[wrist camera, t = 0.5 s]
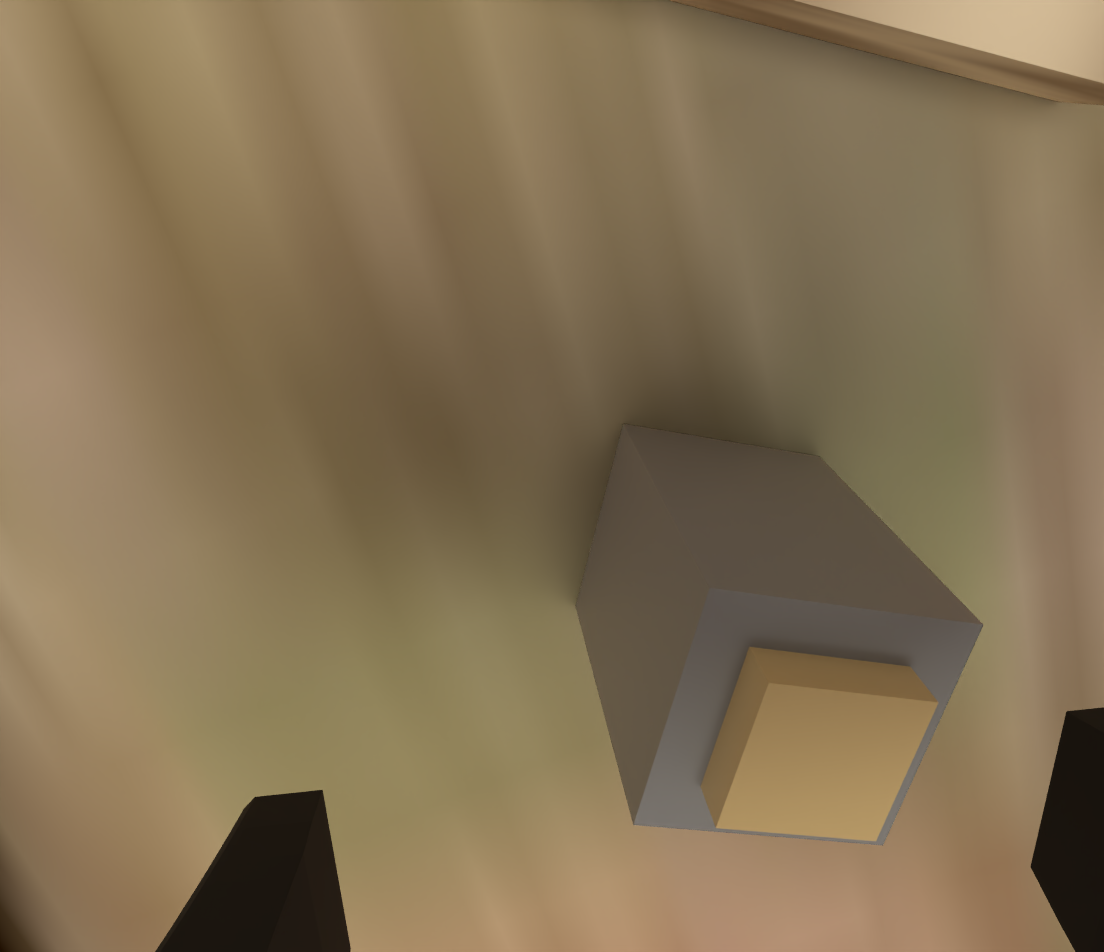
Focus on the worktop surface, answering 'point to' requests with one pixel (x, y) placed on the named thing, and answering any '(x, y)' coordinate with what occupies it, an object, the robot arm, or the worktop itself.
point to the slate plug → (761, 642)
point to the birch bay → (957, 37)
